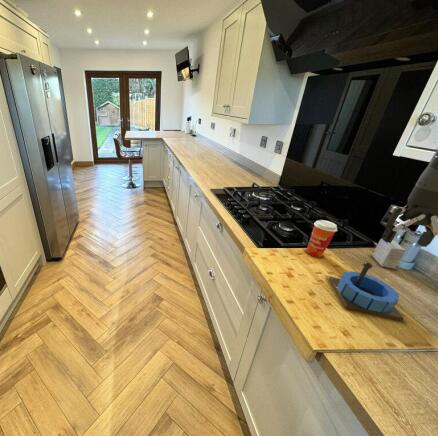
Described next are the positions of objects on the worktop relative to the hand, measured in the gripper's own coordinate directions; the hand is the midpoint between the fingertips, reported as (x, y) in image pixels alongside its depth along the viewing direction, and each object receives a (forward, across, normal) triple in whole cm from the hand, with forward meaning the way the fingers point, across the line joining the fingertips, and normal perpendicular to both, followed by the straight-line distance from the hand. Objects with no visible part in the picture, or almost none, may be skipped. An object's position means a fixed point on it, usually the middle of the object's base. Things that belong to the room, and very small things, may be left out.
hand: (403, 243), depth 65 cm
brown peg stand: (+22, -2, +1) cm, 22 cm away
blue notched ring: (+20, -2, +1) cm, 20 cm away
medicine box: (+22, +20, +25) cm, 39 cm away
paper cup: (+22, -5, +26) cm, 34 cm away
